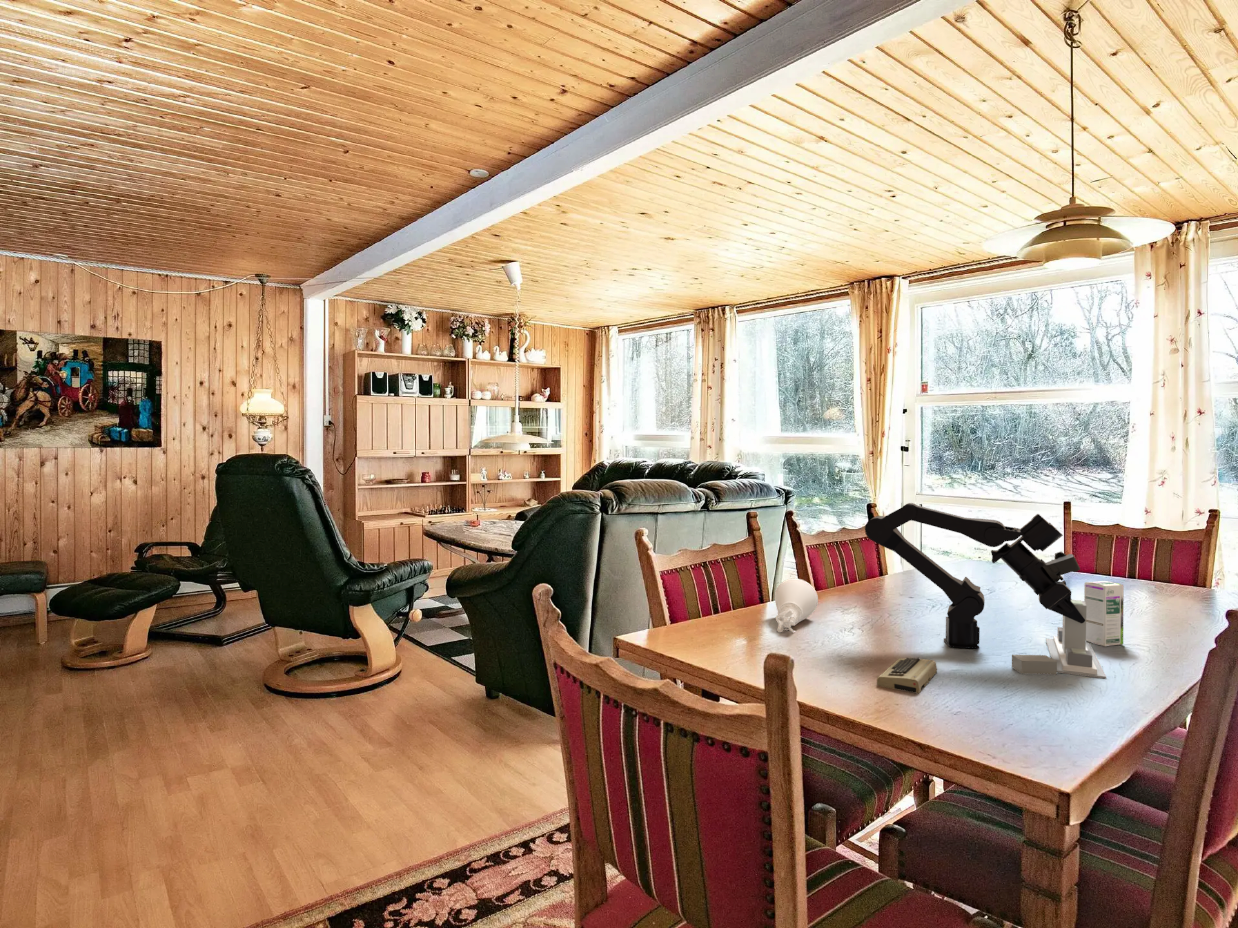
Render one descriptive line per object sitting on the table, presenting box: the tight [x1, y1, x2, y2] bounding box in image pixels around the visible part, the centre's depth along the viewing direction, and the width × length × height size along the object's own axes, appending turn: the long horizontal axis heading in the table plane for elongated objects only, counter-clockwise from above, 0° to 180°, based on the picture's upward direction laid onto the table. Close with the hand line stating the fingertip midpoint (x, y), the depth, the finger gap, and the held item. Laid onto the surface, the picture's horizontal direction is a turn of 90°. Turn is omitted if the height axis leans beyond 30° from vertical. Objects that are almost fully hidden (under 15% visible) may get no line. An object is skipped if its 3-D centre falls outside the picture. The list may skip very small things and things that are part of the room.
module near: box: [1066, 648, 1092, 668], centre depth 156 cm, size 4×4×3 cm
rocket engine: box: [774, 578, 819, 633], centre depth 193 cm, size 12×12×18 cm
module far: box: [1056, 626, 1063, 642], centre depth 174 cm, size 4×4×3 cm
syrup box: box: [1083, 580, 1125, 647], centre depth 177 cm, size 6×6×14 cm
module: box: [1062, 599, 1087, 653], centre depth 165 cm, size 4×5×11 cm
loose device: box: [1011, 654, 1058, 676], centre depth 155 cm, size 7×4×3 cm, turn 86°
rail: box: [1045, 635, 1107, 679], centre depth 165 cm, size 9×28×1 cm, turn 153°
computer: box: [876, 657, 938, 694], centre depth 150 cm, size 16×8×3 cm, turn 145°
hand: (1081, 618), depth 164 cm, fingers open, 8 cm apart
